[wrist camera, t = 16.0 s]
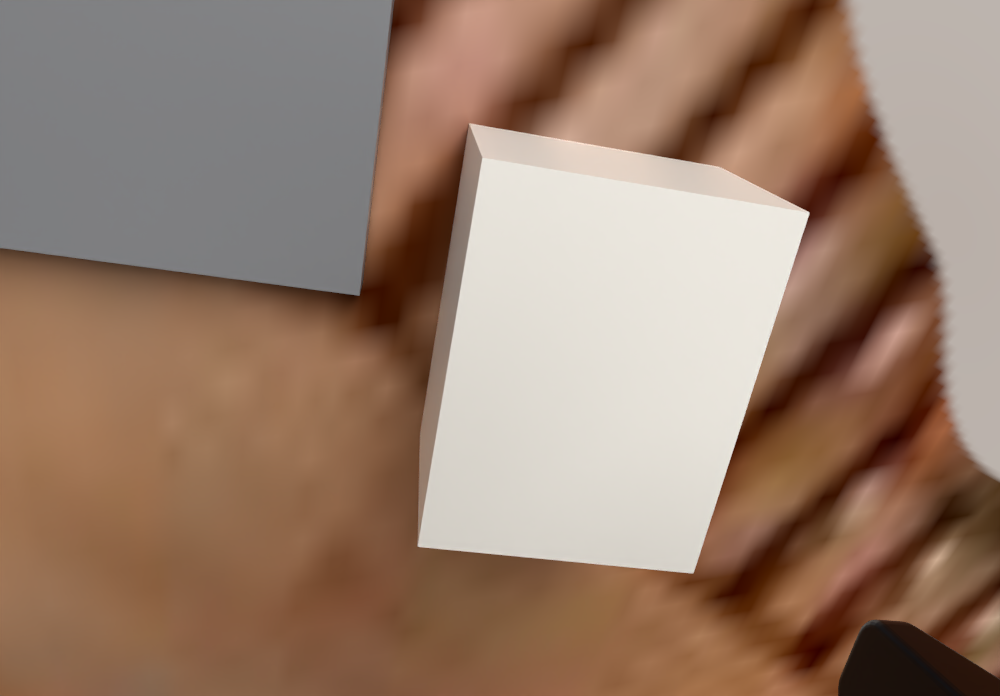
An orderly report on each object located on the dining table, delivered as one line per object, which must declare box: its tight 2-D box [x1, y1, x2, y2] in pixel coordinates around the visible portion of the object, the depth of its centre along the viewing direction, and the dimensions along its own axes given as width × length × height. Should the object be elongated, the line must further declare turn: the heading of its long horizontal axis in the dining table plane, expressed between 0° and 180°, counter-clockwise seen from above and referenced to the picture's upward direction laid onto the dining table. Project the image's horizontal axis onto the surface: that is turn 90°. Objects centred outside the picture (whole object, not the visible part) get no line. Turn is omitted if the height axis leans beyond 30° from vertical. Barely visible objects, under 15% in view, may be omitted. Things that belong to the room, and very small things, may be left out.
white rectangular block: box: [418, 124, 809, 573], centre depth 18 cm, size 8×6×5 cm
